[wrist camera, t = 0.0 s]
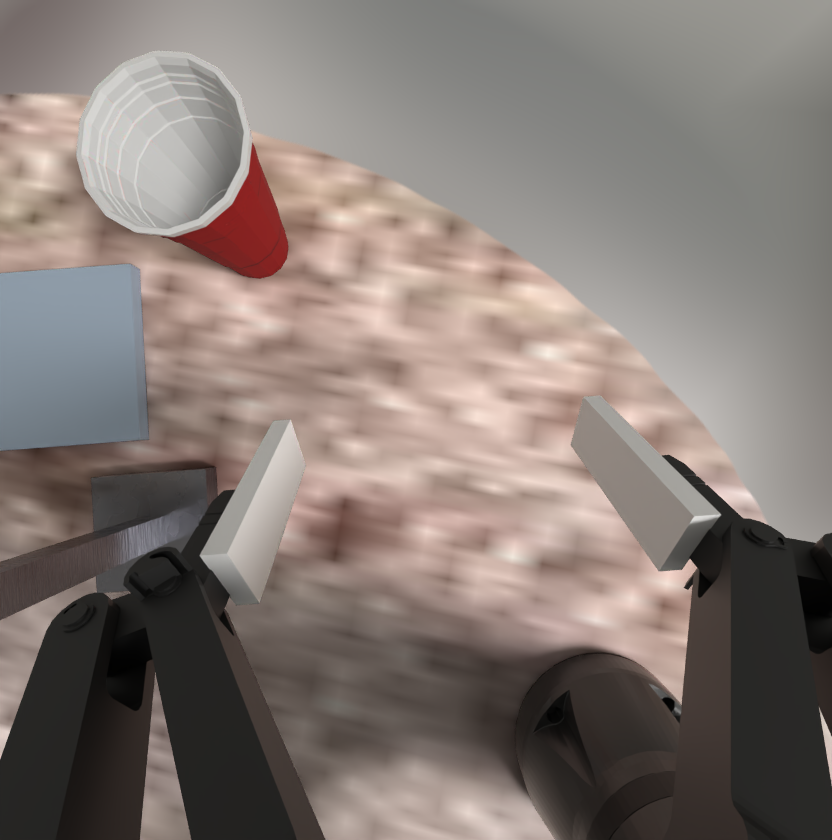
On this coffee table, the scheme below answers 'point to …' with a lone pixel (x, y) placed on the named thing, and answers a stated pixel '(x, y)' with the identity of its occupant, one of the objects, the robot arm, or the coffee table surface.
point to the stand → (113, 535)
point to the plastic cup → (180, 161)
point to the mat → (71, 357)
